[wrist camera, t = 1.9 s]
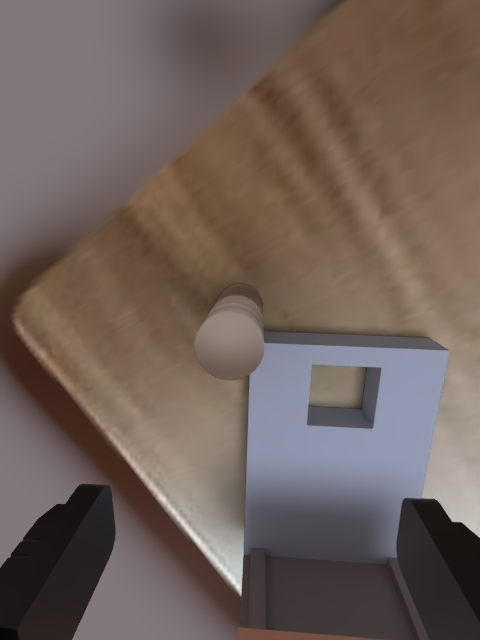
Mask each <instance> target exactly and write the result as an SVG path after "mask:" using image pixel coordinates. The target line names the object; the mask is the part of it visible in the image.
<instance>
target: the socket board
mask: <svg viewBox="0 0 480 640" xmlns="http://www.w3.org/2000/svg"><path fill="white" fill-rule="evenodd" d="M448 356H449V350H448V349H446V348H445V347H443V346H441V345H440V344H438V343H437V342H435V341H434V340H432V339H430V338H423V337H398V336H372V335H347V334H322V333H296V332H271V331H264V355H263V358H262V361H261V363H260V364H259V366H258V367H257V369H256V370H255V371H254V372H252V373H251V374H250V383H249V412H248V442H247V471H246V501H245V530H244V558H243V577H242V597H241V617H240V628H239V627H238V636H237V640H429V638H428V635H427V633H426V630H425V628H424V626H423V623H422V621H421V619H420V616H419V614H418V611H417V609H416V607H415V604H414V602H413V599H412V597H411V595H410V592H409V590H408V588H407V585H406V583H405V580H404V578H403V576H402V573H401V571H400V568H399V564H398V559H397V553H396V541H397V534H398V527H399V520H400V513H401V506H402V501H403V499H404V498H421V497H422V492H423V487H424V482H425V476H426V471H427V466H428V461H429V455H430V450H431V445H432V440H433V435H434V429H435V424H436V419H437V414H438V408H439V403H440V398H441V393H442V387H443V382H444V377H445V372H446V367H447V361H448ZM312 365H334V366H356V367H367V372H366V380H365V388H364V396H363V403H362V409H352V408H332V407H312V406H308V405H309V393H310V381H311V369H312Z"/></svg>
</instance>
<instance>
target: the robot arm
mask: <svg viewBox="0 0 480 640" xmlns="http://www.w3.org/2000/svg"><path fill="white" fill-rule="evenodd" d="M114 541H115V520H114V511H113V502H112V493H111V488H110V486H109V485H95V484H81V485H79V486H78V487H77V489H76V490H75V491H74V493H73V494H72V495H71V497H70V498H69V500H68V501H67V502H66V504H56V505H55V506H54V507H53V508H52V509H50V510H49V511H48V512H46V513H45V514H44V515H43V516H41V517H40V518H39V519H38V520H37V521H36V522H35V524H34V525H33V526H32V527H31V529H30V530H29V531H28V533H27V534H26V535H25V537H24V538H23V541H22V542H20V543H19V544H18V546H17V547H16V548H15V550H14V551H13V552H12V553H11V557H10V558H8V559H7V560H6V561H5V562H4V564H3V565H2V566H1V568H0V640H72V638H73V636H74V634H75V632H76V630H77V627H78V625H79V623H80V621H81V619H82V616H83V614H84V612H85V610H86V608H87V606H88V603H89V601H90V599H91V597H92V595H93V592H94V590H95V588H96V586H97V584H98V582H99V579H100V577H101V575H102V573H103V571H104V568H105V566H106V564H107V562H108V560H109V557H110V555H111V552H112V549H113V546H114ZM396 553H397V559H398V564H399V568H400V571H401V573H402V576H403V578H404V580H405V583H406V585H407V588H408V590H409V592H410V595H411V597H412V599H413V602H414V604H415V607H416V609H417V611H418V614H419V616H420V619H421V621H422V623H423V626H424V628H425V630H426V633H427V635H428V638H429V640H480V538H479V537H478V536H477V535H475V534H474V533H473V532H472V531H471V530H470V529H468V528H467V527H466V526H465V525H464V524H463V523H461V522H452V521H451V520H450V518H449V517H448V515H447V514H446V512H445V511H444V509H443V508H442V506H441V505H440V503H439V502H438V501H437V500H435V499H422V498H404V499H403V501H402V506H401V513H400V520H399V527H398V534H397V541H396Z"/></svg>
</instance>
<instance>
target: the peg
mask: <svg viewBox="0 0 480 640" xmlns="http://www.w3.org/2000/svg"><path fill="white" fill-rule="evenodd" d="M194 348H195V354H196V357H197V360H198V362H199V363H200V365H201V366H202V367H203V369H204V370H205V371H207V372H208V373H209V374H211V375H212V376H214V377H217V378H219V379H223V380H237V379H241V378H244V377H246V376H248V375H250V374H251V373H252V372H254V371H255V370H256V369H257V367H258V366H259V364H260V363H261V361H262V358H263V355H264V327H263V303H262V299H261V296H260V295H259V293H258V292H257V291H256V290H255V289H254V288H253V287H251V286H249V285H246V284H234V285H231V286H229V287H227V288H226V289H225V290H224V291H223V292H222V293H221V295H220V296H219V298H218V300H217V301H216V303H215V304H214V306H213V308H212V309H211V311H210V313H209V314H208V316H207V317H206V319H205V321H204V322H203V324H202V326H201V327H200V329H199V331H198V333H197V335H196V338H195V344H194Z"/></svg>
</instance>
